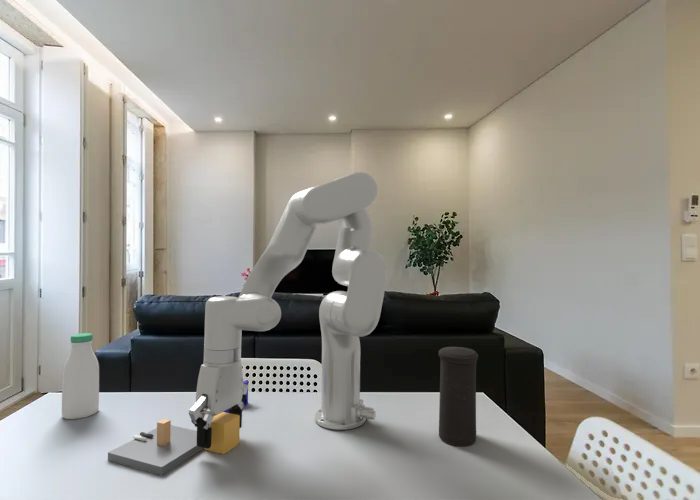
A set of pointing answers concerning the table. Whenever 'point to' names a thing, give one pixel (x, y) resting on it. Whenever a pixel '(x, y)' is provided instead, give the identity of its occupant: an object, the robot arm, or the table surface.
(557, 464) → the table surface
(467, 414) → the container
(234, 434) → the mustard yellow cube
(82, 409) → the milk bottle
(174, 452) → the plate
